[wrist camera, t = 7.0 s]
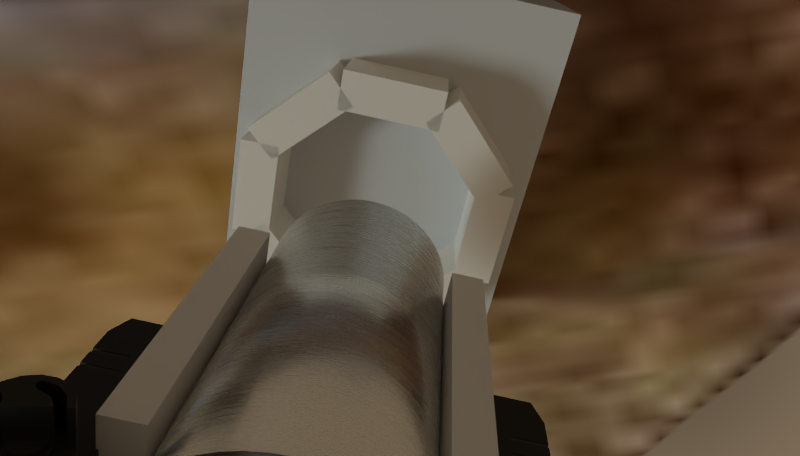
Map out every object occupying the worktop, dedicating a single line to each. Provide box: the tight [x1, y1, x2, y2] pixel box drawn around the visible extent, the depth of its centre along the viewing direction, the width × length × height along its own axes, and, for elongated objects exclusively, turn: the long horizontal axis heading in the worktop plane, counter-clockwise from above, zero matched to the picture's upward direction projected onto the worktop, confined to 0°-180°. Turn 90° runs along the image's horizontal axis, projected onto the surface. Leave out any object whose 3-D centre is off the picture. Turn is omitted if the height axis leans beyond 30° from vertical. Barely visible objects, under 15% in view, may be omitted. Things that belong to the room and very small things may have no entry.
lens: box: [154, 199, 444, 456], centre depth 12 cm, size 5×5×10 cm
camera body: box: [227, 0, 581, 316], centre depth 23 cm, size 14×10×8 cm
